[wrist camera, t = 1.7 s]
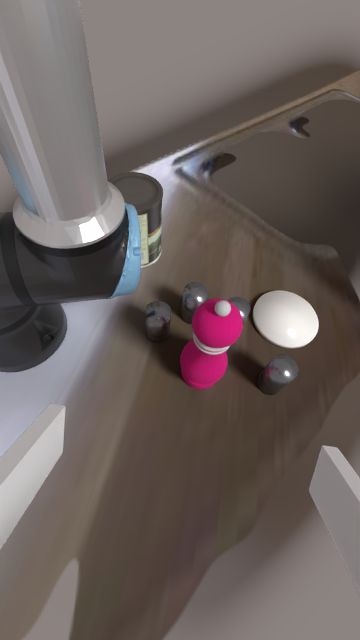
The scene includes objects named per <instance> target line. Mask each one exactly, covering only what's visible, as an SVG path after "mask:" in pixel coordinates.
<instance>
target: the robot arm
mask: <svg viewBox="0 0 360 640" xmlns="http://www.w3.org/2000/svg"><path fill="white" fill-rule="evenodd" d="M0 154H1V156H2V159H3V161H4V163H5V165H6V167H7V169H8V172H9V174H10V176H11V178H12V180H13V182H14V185H15V186H16V189H17V191H18V193H19V196H18V198H17V199H16V201H15V204H14V207H13V212H5V213H0V372H18V371H23V370H27V369H30V368H32V367H35V366H37V365H39V364H40V363H42V362H44V361H45V360H47V359H48V358H49V357H50V356H51V355H52V354H54V352H55V351H56V350H57V349H58V348H59V346H60V345H61V343H62V342H63V340H64V337H65V335H66V331H67V318H66V315H65V312H64V310H63V308H62V306H61V304H60V303H69V302H78V301H88V300H97V299H111V298H113V297H115V296H121V295H127V294H130V293H132V292H133V291H134V290H135V289H136V288H137V286H138V283H139V279H140V272H141V253H140V249H141V235H140V225H139V219H138V215H137V211H136V208H135V207H134V206H133V205H131V204H127V203H125V202H124V198H123V196H122V194H121V193H120V191H119V190H118V189H117V188H116V186H114V185H113V184H112V183H110V182H109V181H107V175H106V170H105V163H104V156H103V149H102V143H101V137H100V130H99V123H98V117H97V111H96V104H95V98H94V91H93V85H92V78H91V72H90V65H89V59H88V52H87V46H86V39H85V33H84V27H83V20H82V13H81V7H80V0H0ZM64 421H65V406H63V405H56V404H50V405H49V406H48V407H47V408H46V409H45V410H44V411H43V412H42V413H41V414H40V415H39V417H38V418H37V419H36V420H35V421H34V422H33V423H32V424H31V425H30V426H29V427H28V428H27V430H26V431H25V432H24V433H23V434H22V435H21V436H20V437H19V438H18V439H17V440H16V442H15V443H14V444H13V445H12V446H11V447H10V448H9V449H8V450H7V451H6V452H5V453H4V455H3V456H2V457H1V458H0V549H1V548H2V546H3V545H4V543H5V542H6V540H7V539H8V537H9V535H10V534H11V532H12V531H13V529H14V528H15V526H16V524H17V523H18V521H19V520H20V518H21V517H22V515H23V514H24V512H25V510H26V509H27V507H28V506H29V504H30V503H31V501H32V499H33V498H34V496H35V495H36V493H37V492H38V490H39V489H40V487H41V485H42V484H43V482H44V481H45V479H46V478H47V476H48V475H49V473H50V471H51V470H52V468H53V467H54V465H55V464H56V462H57V460H58V459H59V457H60V456H61V454H62V453H63V439H64ZM309 492H310V494H311V496H312V498H313V500H314V502H315V505H316V507H317V508H318V511H319V513H320V515H321V517H322V519H323V521H324V523H325V525H326V527H327V529H328V532H329V534H330V536H331V538H332V540H333V542H334V544H335V546H336V548H337V550H338V552H339V554H340V556H341V558H342V561H343V563H344V565H345V567H346V569H347V571H348V573H349V575H350V577H351V579H352V581H353V583H354V586H355V588H356V590H357V592H358V594H359V596H360V478H359V477H358V475H357V474H356V473H355V471H354V470H353V469H352V467H351V466H350V464H349V463H348V462H347V460H346V459H345V458H344V456H343V455H342V453H341V452H340V451H339V449H338V448H336V447H329V446H322V448H321V451H320V455H319V458H318V461H317V465H316V468H315V471H314V475H313V478H312V481H311V485H310V488H309Z"/></svg>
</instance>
